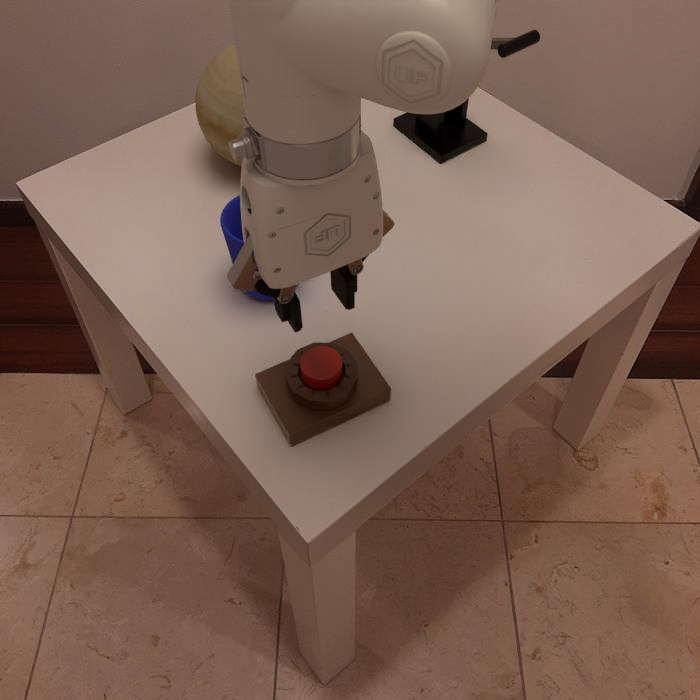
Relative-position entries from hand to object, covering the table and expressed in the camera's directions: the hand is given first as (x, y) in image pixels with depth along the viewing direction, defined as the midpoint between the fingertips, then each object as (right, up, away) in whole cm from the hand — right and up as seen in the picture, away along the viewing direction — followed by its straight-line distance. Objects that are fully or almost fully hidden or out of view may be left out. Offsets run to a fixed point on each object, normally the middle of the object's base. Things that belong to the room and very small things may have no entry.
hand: (317, 307), depth 64 cm
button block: (0, -8, +11) cm, 13 cm away
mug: (-5, +5, +21) cm, 22 cm away
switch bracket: (+15, +26, +36) cm, 46 cm away
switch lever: (+18, +30, +22) cm, 41 cm away
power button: (0, -6, +8) cm, 10 cm away
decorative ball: (-9, +22, +33) cm, 41 cm away
